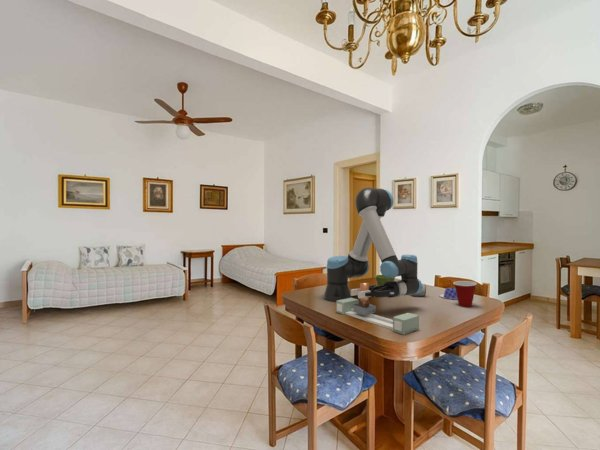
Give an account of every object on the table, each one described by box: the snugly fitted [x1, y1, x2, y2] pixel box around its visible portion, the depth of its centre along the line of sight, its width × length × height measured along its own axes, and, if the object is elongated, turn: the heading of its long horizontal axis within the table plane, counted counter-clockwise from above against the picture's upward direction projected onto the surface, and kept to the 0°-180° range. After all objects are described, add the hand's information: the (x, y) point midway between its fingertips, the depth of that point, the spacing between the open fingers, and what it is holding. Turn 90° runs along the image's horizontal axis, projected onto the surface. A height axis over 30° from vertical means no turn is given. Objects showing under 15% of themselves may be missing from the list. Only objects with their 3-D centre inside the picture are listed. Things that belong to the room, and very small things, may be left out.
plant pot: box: [374, 274, 396, 286], centre depth 181 cm, size 12×12×11 cm
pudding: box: [439, 287, 458, 300], centre depth 176 cm, size 12×12×5 cm
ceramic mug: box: [410, 283, 427, 297], centre depth 181 cm, size 11×8×8 cm
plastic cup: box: [452, 280, 478, 308], centre depth 158 cm, size 11×11×12 cm
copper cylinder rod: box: [353, 281, 377, 315], centre depth 139 cm, size 7×7×13 cm
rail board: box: [335, 297, 420, 336], centre depth 134 cm, size 37×10×6 cm, turn 37°
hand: (354, 293), depth 136 cm, fingers open, 4 cm apart
